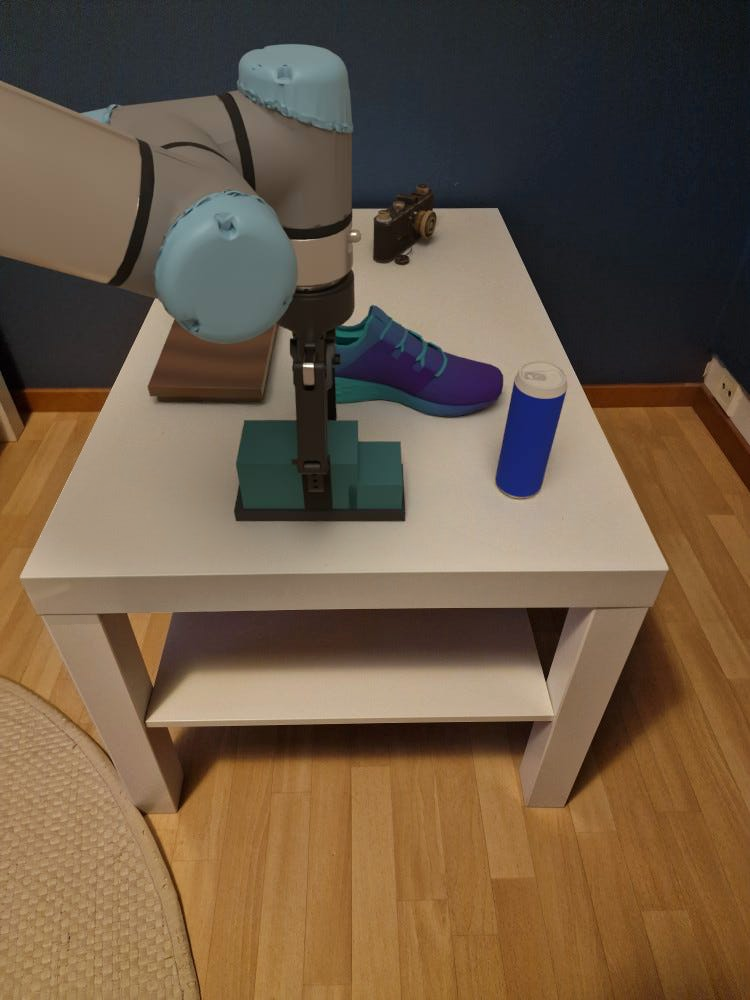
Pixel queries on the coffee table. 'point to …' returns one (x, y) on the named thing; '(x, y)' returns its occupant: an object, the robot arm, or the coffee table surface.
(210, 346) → the brown wooden board
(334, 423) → the teal stepped block
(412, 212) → the camera
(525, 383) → the beverage can
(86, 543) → the coffee table surface
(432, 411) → the sneaker
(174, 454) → the coffee table surface
